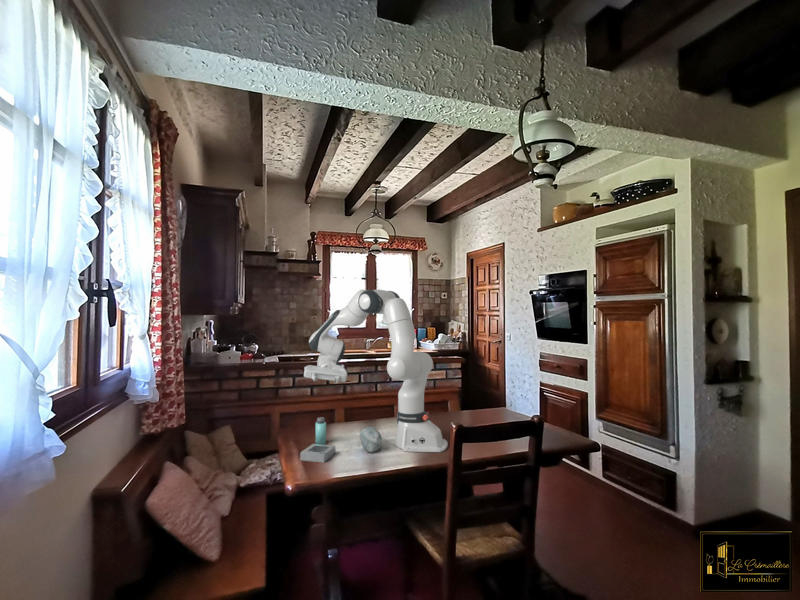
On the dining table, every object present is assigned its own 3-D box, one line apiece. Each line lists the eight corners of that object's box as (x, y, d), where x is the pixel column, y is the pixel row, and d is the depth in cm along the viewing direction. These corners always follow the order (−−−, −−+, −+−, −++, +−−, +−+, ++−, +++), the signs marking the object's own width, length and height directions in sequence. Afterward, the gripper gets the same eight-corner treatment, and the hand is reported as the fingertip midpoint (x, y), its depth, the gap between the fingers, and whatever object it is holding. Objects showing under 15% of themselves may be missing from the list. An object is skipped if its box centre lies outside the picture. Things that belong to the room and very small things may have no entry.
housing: (335, 453, 157) (335, 445, 157) (324, 462, 147) (324, 454, 147) (312, 451, 160) (312, 443, 160) (300, 460, 150) (300, 452, 150)
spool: (355, 435, 169) (366, 416, 168) (374, 444, 171) (385, 425, 169) (354, 454, 156) (366, 434, 154) (375, 463, 157) (387, 443, 156)
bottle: (327, 442, 170) (327, 417, 170) (323, 446, 166) (323, 419, 166) (318, 441, 171) (318, 416, 172) (313, 445, 167) (313, 419, 167)
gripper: (305, 360, 190) (303, 371, 176) (347, 365, 194) (348, 377, 181) (303, 372, 191) (301, 384, 178) (345, 377, 195) (346, 389, 182)
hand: (325, 380), depth 179 cm, fingers open, 8 cm apart
